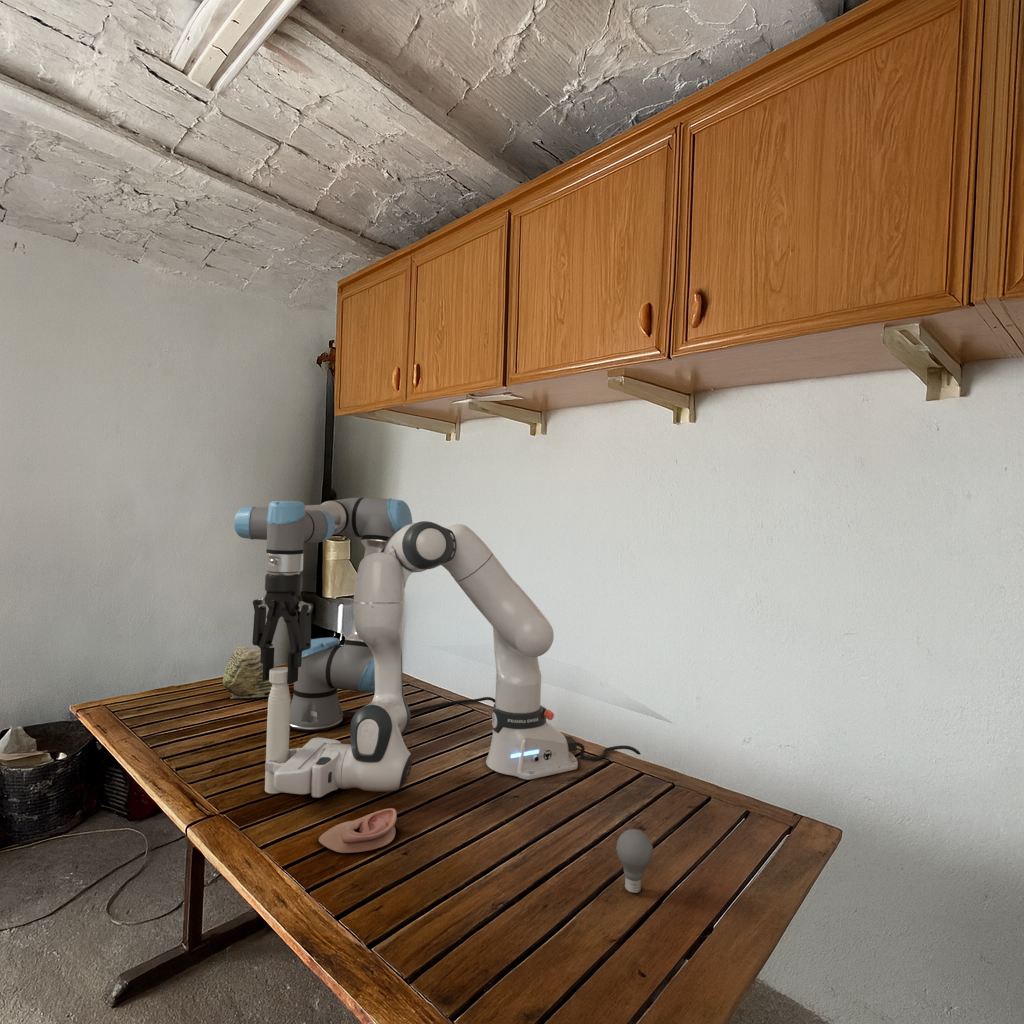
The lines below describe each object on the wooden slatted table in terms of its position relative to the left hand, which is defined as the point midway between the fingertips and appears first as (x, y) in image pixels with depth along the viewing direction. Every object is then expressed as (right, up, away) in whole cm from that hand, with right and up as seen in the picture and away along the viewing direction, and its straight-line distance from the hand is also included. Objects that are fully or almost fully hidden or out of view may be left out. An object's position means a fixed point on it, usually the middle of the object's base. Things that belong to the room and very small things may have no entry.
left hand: (280, 680), depth 136 cm
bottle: (-1, -24, 0) cm, 24 cm away
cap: (0, +2, 0) cm, 2 cm away
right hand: (-2, -17, 0) cm, 17 cm away
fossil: (-31, -21, +62) cm, 72 cm away
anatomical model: (+21, -25, -18) cm, 37 cm away
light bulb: (+70, -27, -30) cm, 81 cm away
